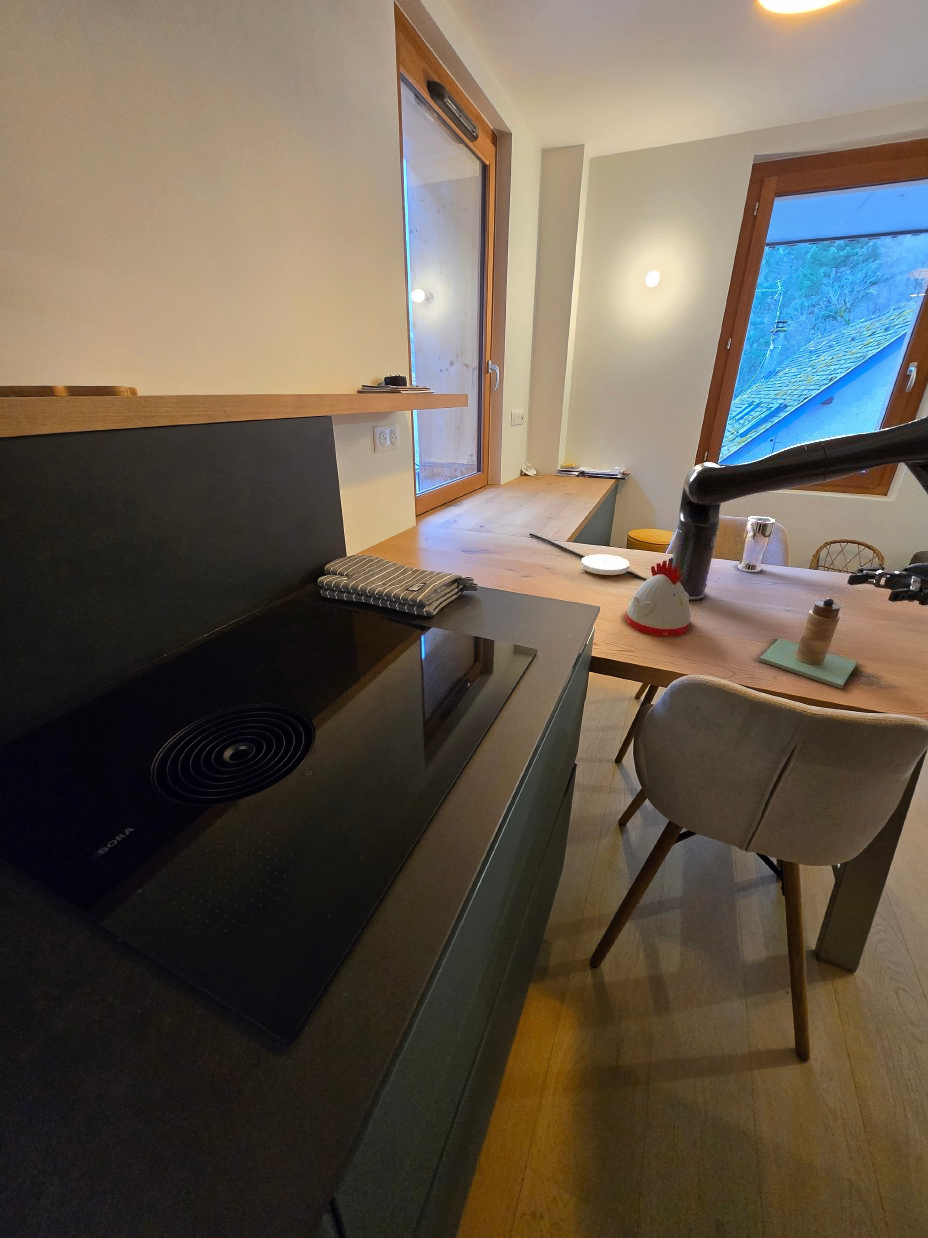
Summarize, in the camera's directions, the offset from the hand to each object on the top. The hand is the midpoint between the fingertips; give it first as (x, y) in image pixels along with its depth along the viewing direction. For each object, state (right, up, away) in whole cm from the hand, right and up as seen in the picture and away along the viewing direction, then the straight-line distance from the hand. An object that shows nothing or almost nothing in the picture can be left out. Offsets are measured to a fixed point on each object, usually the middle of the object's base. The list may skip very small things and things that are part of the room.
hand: (870, 587), depth 96 cm
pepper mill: (-10, -14, +2) cm, 18 cm away
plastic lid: (-37, +8, +52) cm, 64 cm away
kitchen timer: (-34, -7, +20) cm, 40 cm away
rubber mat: (-11, -15, +2) cm, 18 cm away
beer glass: (+6, +9, +51) cm, 52 cm away
